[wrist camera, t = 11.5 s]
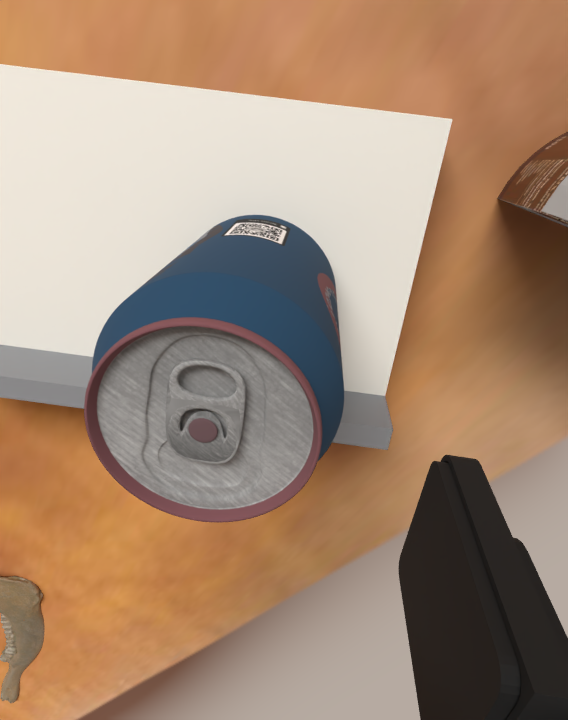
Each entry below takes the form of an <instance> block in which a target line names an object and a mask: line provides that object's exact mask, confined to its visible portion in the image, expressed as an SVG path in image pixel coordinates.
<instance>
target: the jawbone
mask: <svg viewBox="0 0 568 720" xmlns="http://www.w3.org/2000/svg"><path fill="white" fill-rule="evenodd" d="M38 588H39V587H38V586H37V585H36V584H35V583H33V582H32V581H30V580H27V579H24V578H21V577H17V576H12V577H0V613H2V614H1V619H2V620H1V623H2V624H3V626H2V628H4V629H5V631H4V633H5V634H6V636H5V638H6V639H7V640H6V643H7V645H6V646H5V649H4V651H2V653H3V654H2V655H1V656H0V660H1V661H3V662H8V663H9V671H8V672H7V674H6V676H5V679H4V681H3V684H2V691H1V698H0V699H2V701H4V700H8V701H9V702H10V703H14V702H15V701H16V699H17V697H18V695H19V682H20V677H21V675H22V673H23V671H24V670H25V669H26V667H27V666H28V665H29V664H30V663H31V662H32V661H33V660H34V659H35V657H36V656H37V655H38V653H39V651H40V650H41V648H42V645H43V640H44V619H43V615H42V613H41V607H40V601H41V600H42V597H43V594H42V593H41V592H40V591H41V590H40V589H38ZM24 620H25V621H24Z"/></svg>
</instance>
